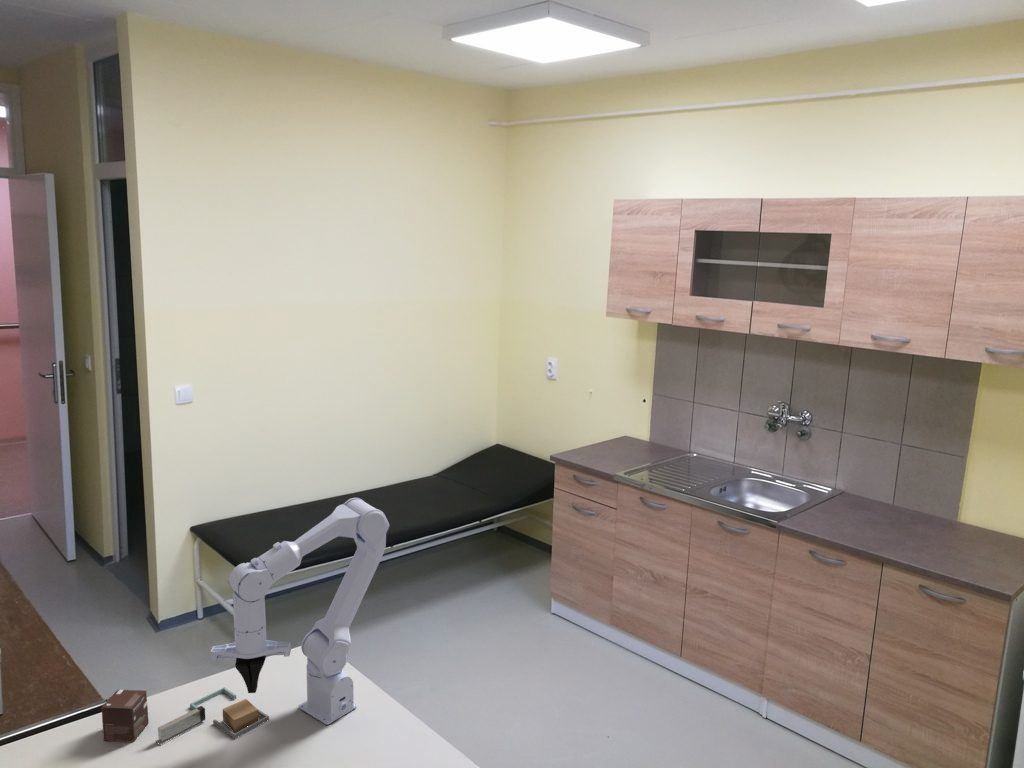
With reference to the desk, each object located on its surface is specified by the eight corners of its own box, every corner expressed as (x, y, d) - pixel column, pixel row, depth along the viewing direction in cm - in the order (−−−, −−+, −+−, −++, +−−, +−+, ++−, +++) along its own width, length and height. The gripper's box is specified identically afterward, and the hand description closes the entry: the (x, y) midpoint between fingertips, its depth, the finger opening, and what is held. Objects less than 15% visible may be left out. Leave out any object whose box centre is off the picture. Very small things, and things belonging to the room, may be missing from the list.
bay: (236, 698, 160) (236, 695, 160) (202, 715, 154) (202, 712, 153) (224, 690, 162) (224, 687, 162) (190, 707, 156) (190, 703, 156)
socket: (269, 719, 153) (268, 716, 153) (185, 766, 139) (185, 762, 139) (238, 699, 159) (238, 696, 159) (155, 742, 145) (155, 738, 145)
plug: (258, 723, 152) (257, 709, 152) (234, 733, 149) (234, 720, 148) (246, 711, 156) (246, 698, 155) (223, 722, 152) (222, 708, 152)
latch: (205, 719, 152) (204, 708, 151) (161, 741, 145) (161, 730, 144) (201, 716, 153) (201, 705, 152) (158, 739, 145) (157, 727, 145)
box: (133, 743, 145) (131, 708, 144) (102, 741, 145) (100, 707, 144) (149, 723, 151) (147, 690, 150) (119, 722, 151) (117, 688, 150)
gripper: (292, 613, 149) (294, 676, 152) (215, 617, 147) (218, 680, 150) (287, 631, 143) (289, 696, 145) (206, 635, 140) (210, 701, 143)
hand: (252, 690), depth 147 cm, fingers closed
